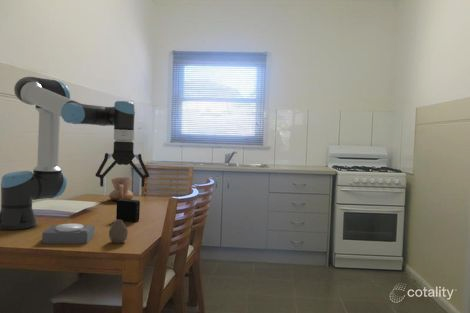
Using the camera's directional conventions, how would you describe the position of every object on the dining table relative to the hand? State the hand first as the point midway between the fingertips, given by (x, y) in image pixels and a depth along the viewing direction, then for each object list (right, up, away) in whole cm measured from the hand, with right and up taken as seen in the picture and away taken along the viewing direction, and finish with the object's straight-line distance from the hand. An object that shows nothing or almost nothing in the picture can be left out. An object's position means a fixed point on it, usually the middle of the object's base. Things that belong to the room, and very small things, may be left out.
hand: (122, 195), depth 150 cm
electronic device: (-7, -16, +34) cm, 38 cm away
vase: (-1, -18, -2) cm, 19 cm away
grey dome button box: (-20, -17, -1) cm, 27 cm away
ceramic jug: (-27, -12, +87) cm, 92 cm away
